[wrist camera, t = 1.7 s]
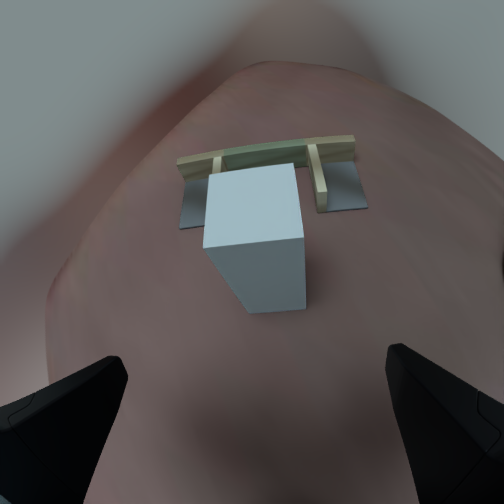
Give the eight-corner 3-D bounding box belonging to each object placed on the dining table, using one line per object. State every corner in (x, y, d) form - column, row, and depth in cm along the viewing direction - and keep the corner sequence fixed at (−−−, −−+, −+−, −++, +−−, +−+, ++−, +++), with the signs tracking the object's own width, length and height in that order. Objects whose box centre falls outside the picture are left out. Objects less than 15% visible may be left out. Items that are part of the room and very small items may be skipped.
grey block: (306, 309, 22) (303, 237, 12) (249, 313, 22) (202, 248, 13) (301, 257, 24) (293, 162, 14) (248, 262, 25) (209, 174, 15)
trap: (367, 208, 25) (372, 187, 22) (179, 229, 28) (167, 212, 25) (351, 156, 28) (352, 135, 26) (187, 176, 31) (177, 158, 28)
